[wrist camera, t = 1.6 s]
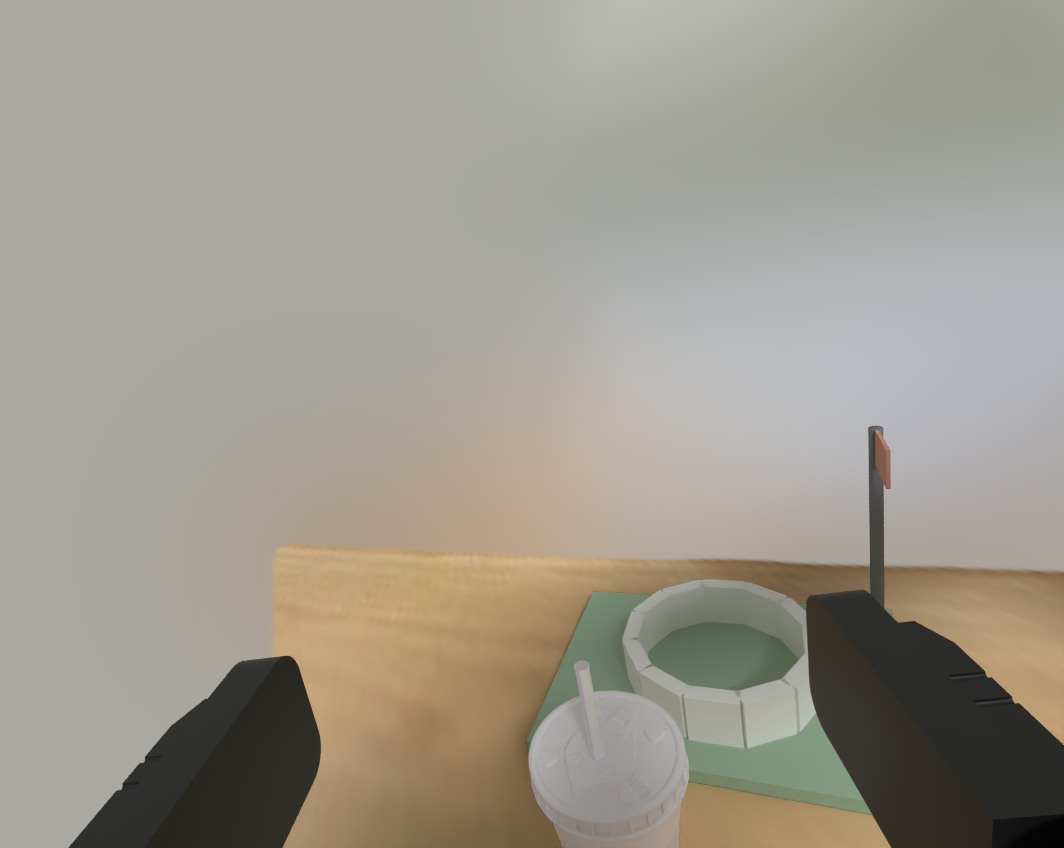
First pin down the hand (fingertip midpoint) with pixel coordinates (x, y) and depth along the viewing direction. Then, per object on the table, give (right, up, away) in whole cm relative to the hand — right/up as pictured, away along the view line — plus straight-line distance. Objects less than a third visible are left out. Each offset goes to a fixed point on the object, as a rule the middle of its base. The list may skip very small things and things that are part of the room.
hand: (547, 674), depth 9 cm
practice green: (+12, -13, +29) cm, 34 cm away
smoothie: (+4, -18, +17) cm, 25 cm away
